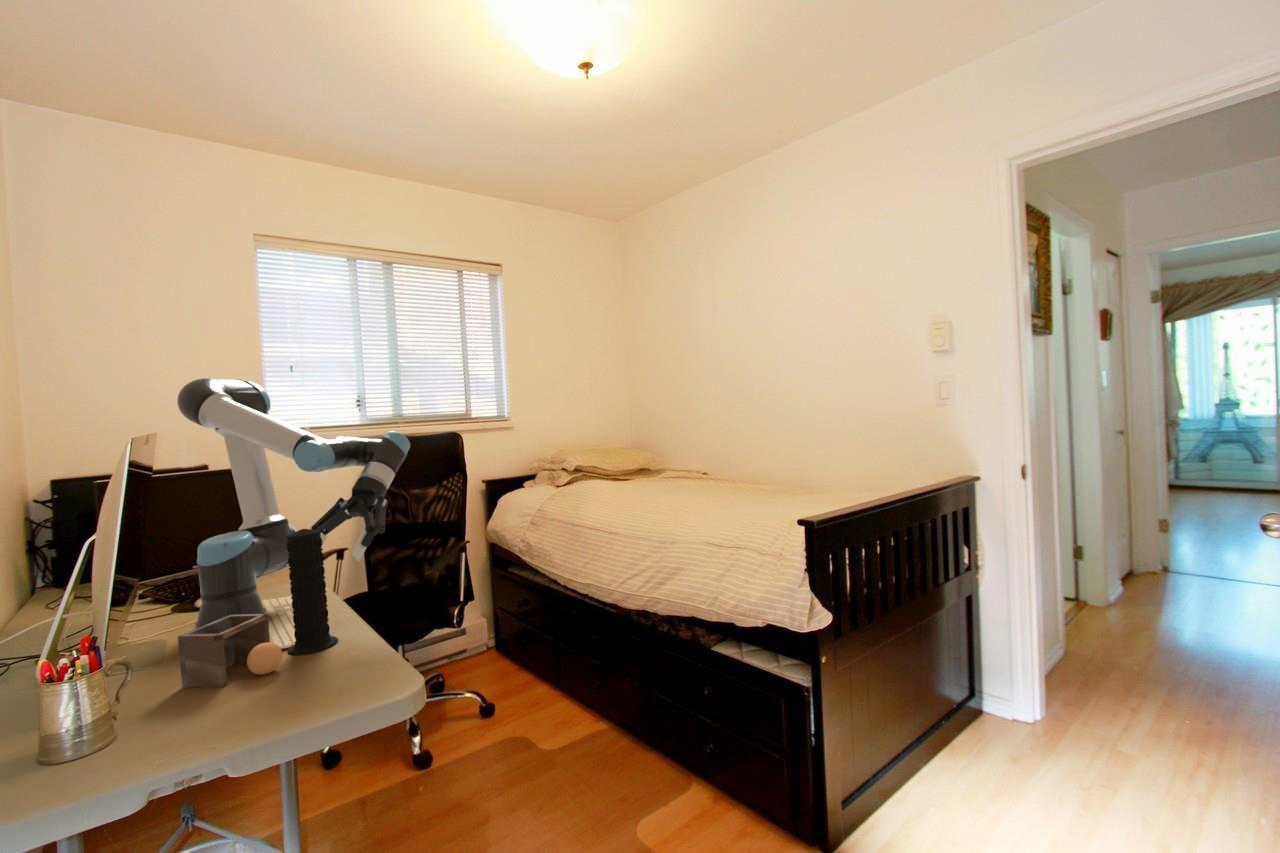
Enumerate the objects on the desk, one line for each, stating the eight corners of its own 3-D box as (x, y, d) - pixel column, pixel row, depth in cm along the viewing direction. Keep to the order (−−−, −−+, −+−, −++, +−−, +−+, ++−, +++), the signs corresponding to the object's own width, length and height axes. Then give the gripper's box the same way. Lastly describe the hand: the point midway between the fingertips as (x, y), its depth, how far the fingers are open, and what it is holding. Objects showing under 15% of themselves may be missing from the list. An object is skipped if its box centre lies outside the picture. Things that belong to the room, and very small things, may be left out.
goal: (234, 660, 125) (230, 614, 125) (271, 660, 123) (267, 613, 123) (182, 687, 113) (177, 636, 113) (223, 687, 112) (218, 635, 111)
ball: (264, 666, 120) (262, 638, 120) (290, 666, 119) (288, 637, 119) (240, 680, 114) (238, 649, 114) (267, 679, 113) (265, 649, 113)
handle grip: (320, 654, 125) (347, 636, 135) (309, 532, 124) (338, 523, 134) (276, 656, 126) (307, 638, 136) (266, 534, 125) (297, 525, 135)
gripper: (421, 491, 147) (384, 566, 133) (343, 494, 155) (300, 566, 141) (405, 472, 142) (364, 549, 128) (325, 477, 149) (278, 549, 136)
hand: (330, 558), depth 134 cm, fingers open, 13 cm apart
